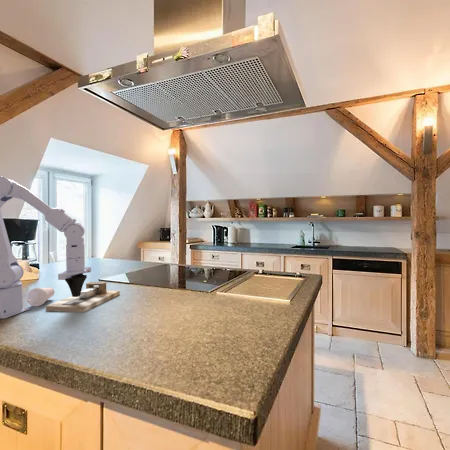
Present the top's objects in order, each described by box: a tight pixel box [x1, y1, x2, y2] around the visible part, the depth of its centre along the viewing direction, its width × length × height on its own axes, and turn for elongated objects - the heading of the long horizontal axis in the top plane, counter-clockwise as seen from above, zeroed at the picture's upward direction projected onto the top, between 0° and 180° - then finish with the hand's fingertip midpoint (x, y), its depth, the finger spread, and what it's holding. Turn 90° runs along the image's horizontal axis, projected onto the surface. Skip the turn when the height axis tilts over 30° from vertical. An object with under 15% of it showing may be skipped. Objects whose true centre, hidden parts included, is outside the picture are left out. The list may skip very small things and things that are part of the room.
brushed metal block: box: [79, 285, 99, 298], centre depth 110 cm, size 9×3×2 cm, turn 170°
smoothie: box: [26, 287, 55, 308], centre depth 105 cm, size 6×6×14 cm
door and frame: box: [45, 281, 121, 313], centre depth 107 cm, size 22×14×6 cm, turn 170°
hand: (76, 296), depth 102 cm, fingers closed
